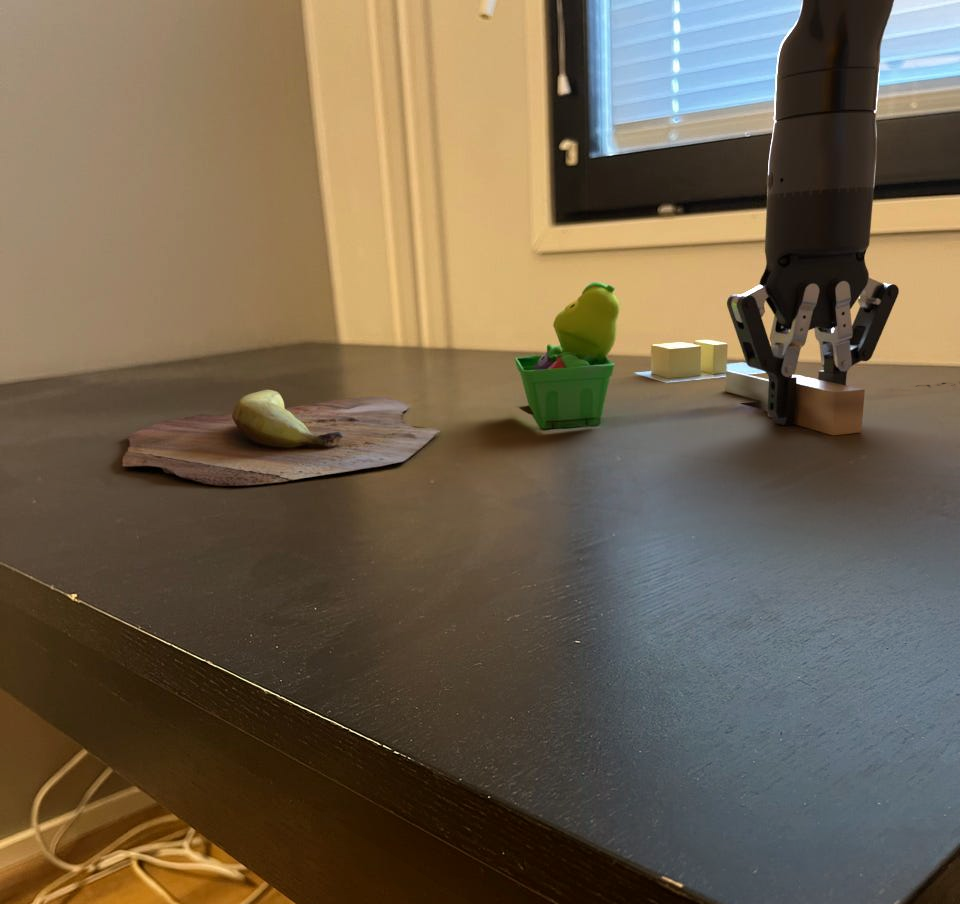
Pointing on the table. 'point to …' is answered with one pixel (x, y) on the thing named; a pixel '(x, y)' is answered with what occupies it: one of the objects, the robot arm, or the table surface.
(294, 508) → the table surface
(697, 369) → the butter stick
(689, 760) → the table surface
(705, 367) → the butter pat
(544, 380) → the fruit basket
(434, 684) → the table surface
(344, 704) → the table surface
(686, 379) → the butter dish
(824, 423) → the knife
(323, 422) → the cutting board
